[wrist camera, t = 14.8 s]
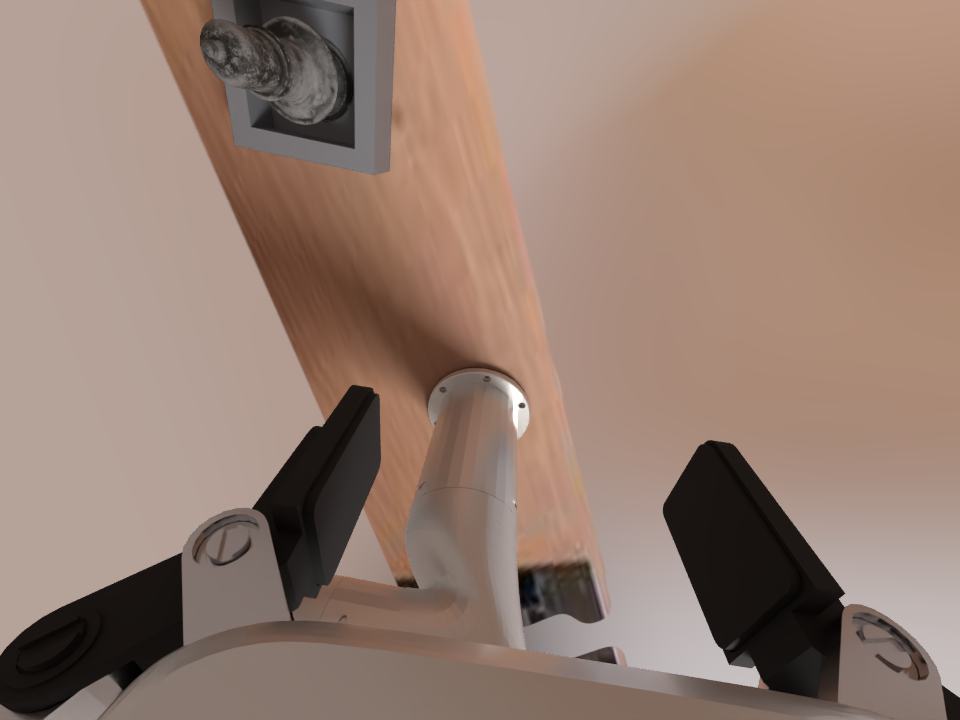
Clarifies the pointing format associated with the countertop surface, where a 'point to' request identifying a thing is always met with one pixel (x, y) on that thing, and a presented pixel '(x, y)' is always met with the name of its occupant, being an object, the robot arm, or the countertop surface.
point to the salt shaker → (281, 66)
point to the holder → (370, 56)
